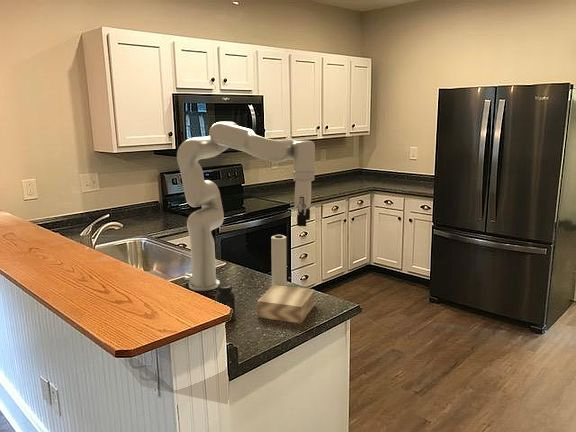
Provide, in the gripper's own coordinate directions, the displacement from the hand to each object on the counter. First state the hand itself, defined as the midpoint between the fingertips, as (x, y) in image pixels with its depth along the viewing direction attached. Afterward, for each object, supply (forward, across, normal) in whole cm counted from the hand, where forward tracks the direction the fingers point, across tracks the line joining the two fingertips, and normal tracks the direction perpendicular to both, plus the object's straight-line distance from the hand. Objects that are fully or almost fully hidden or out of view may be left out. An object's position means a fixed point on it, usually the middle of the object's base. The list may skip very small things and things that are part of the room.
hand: (303, 222), depth 168 cm
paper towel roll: (+30, -12, -11) cm, 35 cm away
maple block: (+30, +10, -4) cm, 32 cm away
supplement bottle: (+30, +19, -24) cm, 43 cm away
